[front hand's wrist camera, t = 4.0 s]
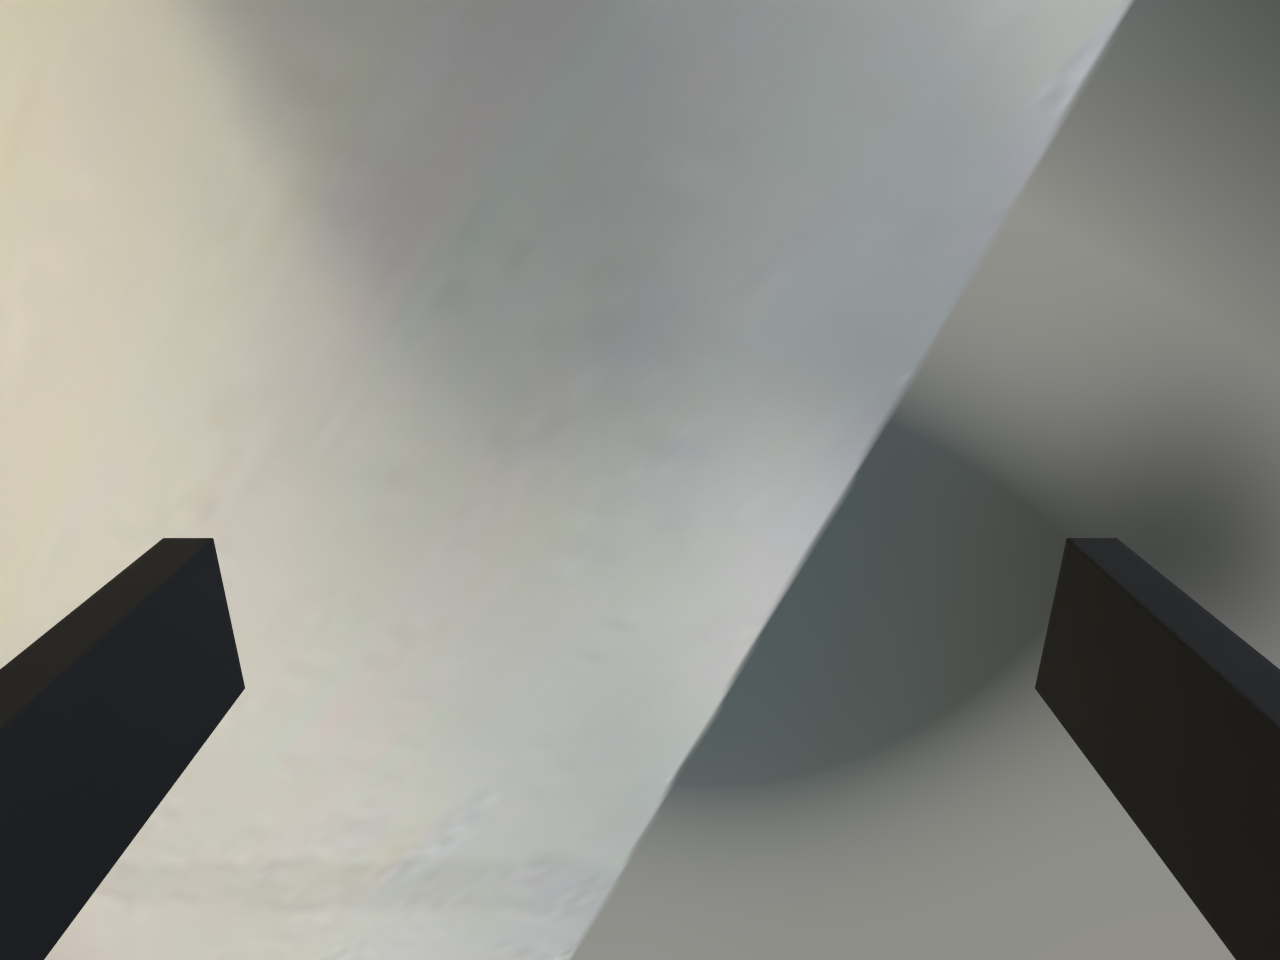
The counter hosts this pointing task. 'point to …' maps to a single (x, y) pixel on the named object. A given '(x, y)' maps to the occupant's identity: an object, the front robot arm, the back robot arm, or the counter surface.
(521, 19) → the counter surface
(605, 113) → the counter surface
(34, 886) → the front robot arm
